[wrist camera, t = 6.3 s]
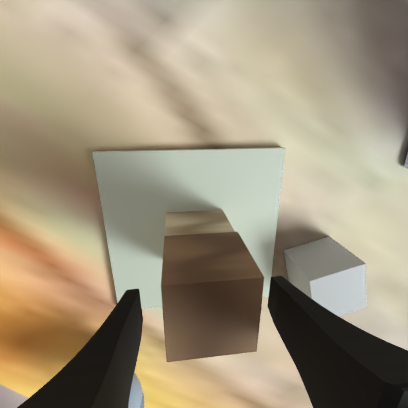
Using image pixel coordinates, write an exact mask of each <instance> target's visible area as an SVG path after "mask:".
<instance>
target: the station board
mask: <svg viewBox="0 0 408 408" xmlns="http://www.w3.org/2000/svg"><path fill="white" fill-rule="evenodd" d="M92 154H93V160H94V166H95V172H96V178H97V184H98V189H99V195H100V201H101V207H102V213H103V219H104V225H105V231H106V237H107V243H108V249H109V255H110V261H111V267H112V273H113V279H114V285H115V291H116V297H117V303H118V302H119V301H120V299H121V297H122V296H123V294H124V293H125V291H126V290H129V289H139V292H140V300H141V308H142V309H146V308H157V307H162V294H161V277H162V263H163V249H164V234H165V220H166V213H167V212H186V211H205V210H223V211H224V213H225V215H226V217H227V219H228V220H229V222H230V224H231V226H232V228H233V229H234V231H235V232H238V233H239V235H240V236H241V238H242V240H243V242H244V243H245V245H246V247H247V248H248V250H249V252H250V254H251V255H252V257H253V259H254V260H255V262H256V264H257V266H258V267H259V269H260V271H261V273H262V274H263V276H264V285H263V294H262V297H269V289H270V280H271V274H272V265H273V256H274V247H275V237H276V228H277V219H278V210H279V201H280V192H281V183H282V174H283V165H284V156H285V148H283V147H270V148H224V149H178V150H131V151H94V152H92Z"/></svg>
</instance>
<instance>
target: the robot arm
mask: <svg viewBox="0 0 408 408" xmlns="http://www.w3.org/2000/svg"><path fill="white" fill-rule="evenodd" d="M404 165H405V167H406V168H408V153H407V157H406V160H405V164H404ZM268 308H269V311H270V314H271V317H272V319H273V322H274V324H275V326H276V328H277V330H278V332H279V334H280V336H281V338H282V340H283V342H284V344H285V346H286V348H287V350H288V352H289V354H290V356H291V357H292V359H293V361H294V363H295V365H296V367H297V369H298V372H299V374H300V376H301V378H302V381H303V383H304V386H305V388H306V390H307V393H308V395H309V398H310V400H311V403H312V406H313V408H408V351H407V350H405V349H403V348H400V347H398V346H395V345H393V344H391V343H388V342H386V341H384V340H382V339H380V338H378V337H375V336H373V335H371V334H369V333H367V332H365V331H363V330H361V329H360V328H358V327H356V326H354V325H352V324H350V323H349V322H347V321H345V320H343V319H342V318H340V317H338V316H337V315H335V314H334V313H332V312H330V311H329V310H327V309H326V308H324V307H323V306H321V305H320V304H318V303H317V302H316V301H314V300H313V299H311V298H310V297H309V296H307V295H306V294H305V293H303V292H302V291H301V290H299V289H298V288H297V287H295V286H294V285H293V284H291V283H290V282H289V281H287V280H286V279H285V278H283V277H282V276H276V277H271V280H270V289H269V298H268ZM142 323H143V316H142V308H141V300H140V292H139V289H129V290H126V291H125V293H124V294H123V296H122V297H121V299H120V301H119V302H118V304H117V305H116V306H115V308H114V309H113V311H112V312H111V314H110V315H109V316H108V318H107V319H106V320H105V322H104V323H103V324H102V326H101V327H100V328H99V329H98V331H97V332H96V333H95V334H94V336H93V337H92V338H91V339H90V340H89V341H88V343H87V344H86V345H85V346H84V347H83V348H82V349H81V350H80V351H79V353H78V354H77V355H76V356H75V357H74V358H73V359H72V360H71V361H70V362H69V363H68V364H67V365H66V366H65V367H64V368H63V369H62V370H61V371H60V372H59V373H58V374H56V375H55V376H54V377H53V378H52V379H51V380H50V381H49V382H48V383H46V384H45V385H44V386H43V387H42V388H41V389H39V390H38V391H37V392H36V393H35V394H34V395H32V396H31V397H30V398H29V399H28V400H26V401H25V402H24V403H23V404H21V405H20V406H19V407H17V408H128V405H129V397H130V391H131V385H132V381H133V376H134V371H135V366H136V361H137V356H138V351H139V346H140V341H141V333H142Z"/></svg>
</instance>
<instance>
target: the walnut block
mask: <svg viewBox="0 0 408 408" xmlns="http://www.w3.org/2000/svg"><path fill="white" fill-rule="evenodd" d="M263 285H264V276H263V274H262V273H261V271H260V269H259V267H258V266H257V264H256V262H255V260H254V259H253V257H252V255H251V254H250V252H249V250H248V248H247V247H246V245H245V243H244V242H243V240H242V238H241V236H240V235H239V233H238V232H223V233H205V234H188V235H171V236H164V249H163V263H162V277H161V294H162V307H163V320H164V333H165V346H166V359H167V362H173V361H181V360H189V359H197V358H206V357H214V356H222V355H230V354H239V353H247V352H255V351H257V342H258V333H259V323H260V314H261V304H262V294H263Z"/></svg>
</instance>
